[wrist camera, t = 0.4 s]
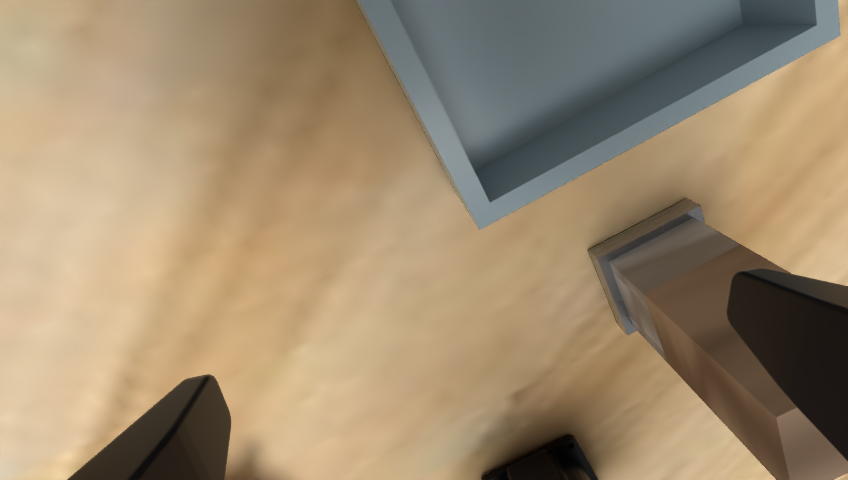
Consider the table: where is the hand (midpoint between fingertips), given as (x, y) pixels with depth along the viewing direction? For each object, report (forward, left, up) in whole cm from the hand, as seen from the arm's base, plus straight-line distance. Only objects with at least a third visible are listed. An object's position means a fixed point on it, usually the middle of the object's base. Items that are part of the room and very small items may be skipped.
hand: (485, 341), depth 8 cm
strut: (-12, -8, -13) cm, 19 cm away
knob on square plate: (-12, -8, -14) cm, 20 cm away
